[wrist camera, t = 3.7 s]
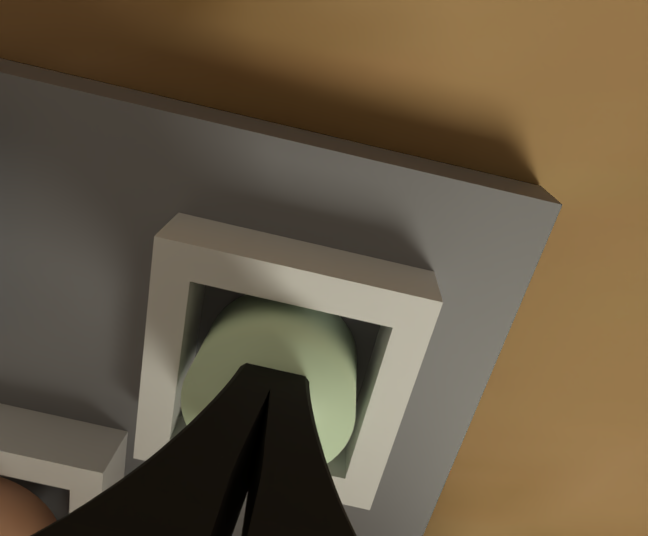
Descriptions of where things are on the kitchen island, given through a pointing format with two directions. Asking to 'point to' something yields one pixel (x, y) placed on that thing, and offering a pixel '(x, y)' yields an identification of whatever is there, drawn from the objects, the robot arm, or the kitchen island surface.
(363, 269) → the button panel
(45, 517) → the terracotta button
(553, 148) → the kitchen island surface
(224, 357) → the sage button
